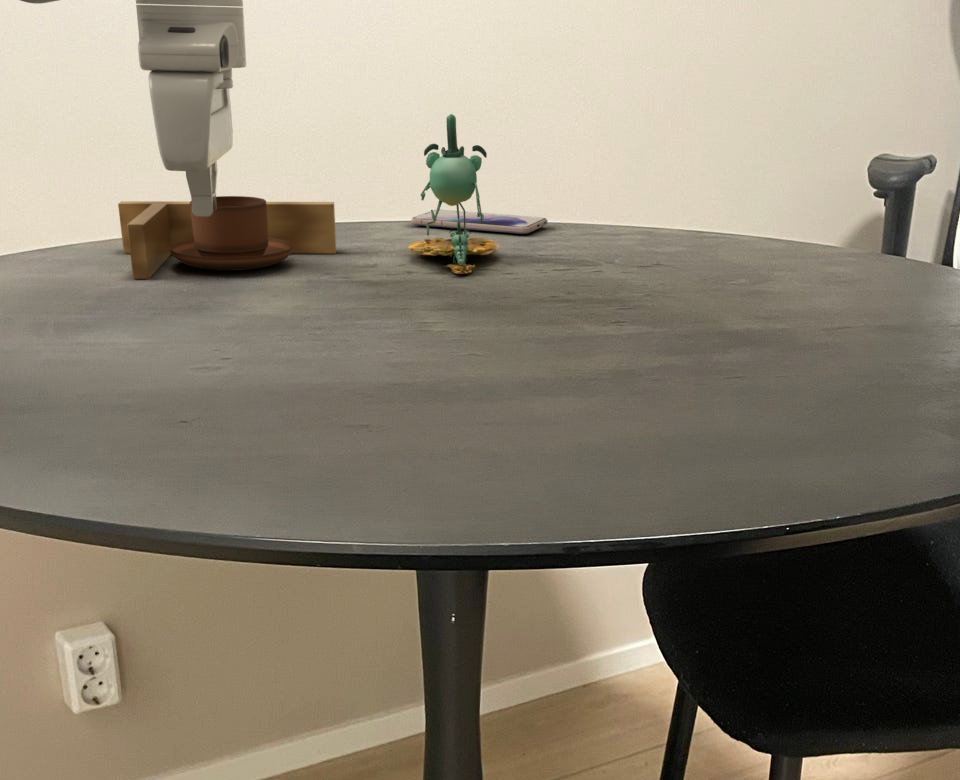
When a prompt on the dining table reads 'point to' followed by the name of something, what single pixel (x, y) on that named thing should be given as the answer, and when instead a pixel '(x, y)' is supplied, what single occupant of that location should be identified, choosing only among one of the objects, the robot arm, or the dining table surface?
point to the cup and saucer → (232, 237)
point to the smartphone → (488, 224)
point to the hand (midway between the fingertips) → (205, 214)
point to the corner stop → (170, 222)
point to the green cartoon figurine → (453, 200)
